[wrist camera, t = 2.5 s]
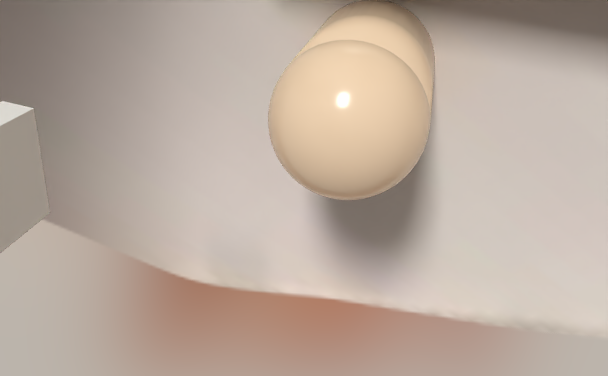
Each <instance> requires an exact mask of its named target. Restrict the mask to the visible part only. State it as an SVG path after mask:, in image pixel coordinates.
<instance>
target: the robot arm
mask: <svg viewBox="0 0 608 376" xmlns="http://www.w3.org/2000/svg"><path fill="white" fill-rule="evenodd" d="M49 213H50V208H49V202H48V195H47V189H46V182H45V176H44V170H43V163H42V157H41V150H40V144H39V138H38V131H37V125H36V118H35V112H34V108H31V107H26V106H22V105H18V104H13V103H9V102H5V101H2V102H0V253H1V252H2V251H3V250H4V249H6V248H7V247H8V246H10V245H11V244H12V243H13V242H15V241H16V240H17V239H18V238H20V237H21V236H22V235H23V234H24V233H26V232H27V231H28V230H29V229H31V228H32V227H33V226H34V225H36V224H37V223H38V222H39V221H41V220H42V219H43V218H44V217H46V216H47V215H48V214H49Z"/></svg>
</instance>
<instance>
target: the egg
mask: <svg viewBox="0 0 608 376" xmlns="http://www.w3.org/2000/svg"><path fill="white" fill-rule="evenodd" d="M434 67H435V55H434V48H433V44H432V41H431V38H430V35H429V33H428V32H427V30H426V28H425V27H424V25H423V24H422V23H421V21H420V20H419V19H418V18H417V17H416V16H415V15H414V14H412V13H411V12H410V11H409V10H407V9H405V8H404V7H402V6H400V5H398V4H395V3H393V2H389V1H385V0H362V1H357V2H354V3H351V4H349V5H346V6H344V7H342V8H341V9H339V10H338V11H336V12H335V13H334V14H333V15H332V16H330V17H329V18H328V20H327V21H326V22H325V23H324V24H323V25H322V26H321V28H320V29H319V30H318V31H317V32H316V34H315V35H314V36H313V37H312V38H311V39H310V41H309V42H308V43H307V44H306V45H305V46H304V48H303V49H302V50H301V51H300V52H299V53H298V55H297V56H296V57H295V58H294V59H293V60H292V62H291V63H290V64H289V65H288V66H287V68H286V69H285V70H284V72H283V73H282V75H281V76H280V78H279V80H278V81H277V83H276V86H275V88H274V90H273V93H272V97H271V100H270V105H269V111H268V126H269V135H270V139H271V143H272V146H273V148H274V151H275V153H276V155H277V157H278V159H279V161H280V163H281V164H282V166H283V167H284V168H285V170H286V171H287V172H288V173H289V174H290V175H291V177H292V178H294V179H295V180H296V181H297V182H298V183H299V184H301V185H302V186H304V187H305V188H307V189H309V190H310V191H312V192H314V193H317V194H319V195H322V196H325V197H328V198H332V199H338V200H359V199H365V198H369V197H372V196H375V195H378V194H380V193H383V192H385V191H387V190H389V189H390V188H392V187H394V186H395V185H396V184H397V183H399V182H400V181H401V180H402V179H404V178H405V177H406V176H407V175H408V174H409V173H410V172H411V170H412V169H413V168H414V166H415V165H416V163H417V162H418V160H419V159H420V157H421V155H422V153H423V151H424V148H425V146H426V143H427V139H428V135H429V130H430V121H431V107H432V94H433V81H434Z"/></svg>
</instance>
